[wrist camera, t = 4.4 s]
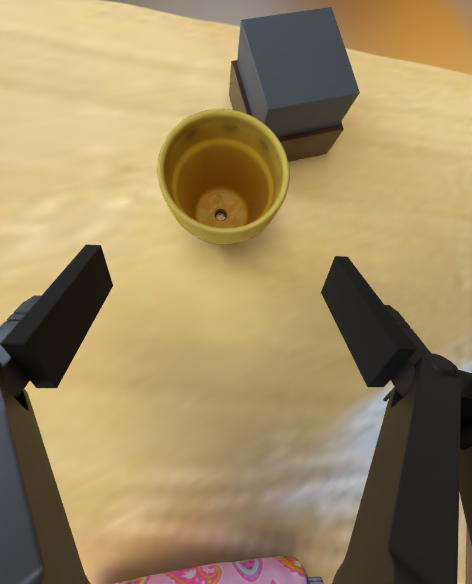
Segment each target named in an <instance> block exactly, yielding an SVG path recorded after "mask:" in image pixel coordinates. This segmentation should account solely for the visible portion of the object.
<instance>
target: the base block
mask: <svg viewBox="0 0 472 584" xmlns="http://www.w3.org/2000/svg"><path fill="white" fill-rule="evenodd" d="M229 96H230V99H231V103H232V106H233V109H234V110H236V111H240V112H243V113H246V114H248V115H251V116H252V113H251V110H250V106H249V103H248V99H247V96H246V93H245V89H244V86H243V83H242V79H241V76H240V72H239V69H238V66H237V60H236V61H231V73H230V88H229ZM342 131H343V126H342V123H341V122H340V124H339V125H338V126H334V127H329V128H324V129H319V130H314V131H309V132H304V133H299V134H294V135H289V136H284V137H279V138H278V139H279V141H280V143H281V144H282V146H283V148H284V150H285V153H286V156H287V159H288V161H292V160H297V159H302V158H306V157H311V156H316V155H320V154H325V153H327V152H328V151H329V150H330V148H331V147H332V145H333V144H334V142H335V141H336V139H337V138H338V137H339V135H340V134H341V132H342Z"/></svg>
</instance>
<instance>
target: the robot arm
mask: <svg viewBox="0 0 472 584" xmlns="http://www.w3.org/2000/svg"><path fill="white" fill-rule="evenodd" d="M112 287H113V284H112V280H111V277H110V274H109V271H108V267H107V264H106V261H105V257H104V254H103V251H102V247H101V245H85V246H84V248H83V249H82V250H81V251H80V252H79V253H78V254H77V256H76V257H75V258H74V259H73V260H72V261H71V263H70V264H69V265H68V266H67V267H66V268H65V269H64V271H63V272H62V273H61V274H60V275H59V276H58V277H57V279H56V280H55V281H54V282H53V283H52V284H51V286H50V287H49V288H48V289H47V290H46V291H45V292H44V294H43V295H42V296H33V297H31V298H30V299H28V300H27V301H25V302H23V303H22V304H21V305H20V306H19V307H18V308H17V309H16V310H15V312H14V314H12V315H11V316H10V317H9V318H8V319H7V321H5V322H4V323H3V324H2V326H1V327H0V584H90V582H89V581H88V579H87V577H86V575H85V573H84V570H83V567H82V564H81V561H80V558H79V554H78V551H77V548H76V545H75V542H74V538H73V535H72V532H71V529H70V526H69V523H68V519H67V516H66V513H65V510H64V507H63V504H62V500H61V497H60V494H59V491H58V488H57V485H56V481H55V478H54V475H53V472H52V469H51V466H50V462H49V459H48V456H47V453H46V450H45V447H44V443H43V440H42V437H41V434H40V431H39V427H38V424H37V421H36V418H35V415H34V412H33V408H32V405H31V402H30V399H29V396H28V393H27V392H26V390H25V389H24V388H25V387H26V385H27V384H28V382H29V381H31V382H32V383H33V384H34V386H35V387H36V388H57V387H58V385H59V383H60V382H61V380H62V378H63V376H64V374H65V372H66V371H67V369H68V367H69V365H70V363H71V361H72V360H73V358H74V356H75V354H76V352H77V351H78V349H79V347H80V345H81V343H82V341H83V340H84V338H85V336H86V334H87V332H88V330H89V329H90V327H91V325H92V323H93V321H94V320H95V318H96V316H97V314H98V312H99V310H100V309H101V307H102V305H103V303H104V301H105V299H106V298H107V296H108V294H109V292H110V290H111V289H112ZM321 293H322V296H323V298H324V300H325V302H326V304H327V306H328V308H329V310H330V312H331V314H332V316H333V318H334V320H335V322H336V324H337V326H338V328H339V330H340V332H341V334H342V336H343V338H344V340H345V342H346V344H347V346H348V348H349V350H350V352H351V354H352V356H353V358H354V360H355V362H356V364H357V367H358V369H359V371H360V373H361V375H362V377H363V379H364V381H365V383H366V385H367V387H384V386H385V385H386V384H387V383H388V382H389V381H390V380H391V381H392V383H393V385H394V386H395V387H394V388H393V389H392V390H391V391H390V392H389V393H388V394H387V395H386V397H385V398H384V399H383V400H384V401H385V402H386V401H387V400H388V399H389V401H388V404H387V408H386V412H385V415H384V419H383V423H382V426H381V430H380V434H379V437H378V441H377V445H376V448H375V452H374V456H373V459H372V463H371V467H370V470H369V474H368V478H367V481H366V485H365V488H364V492H363V496H362V499H361V503H360V507H359V510H358V514H357V518H356V521H355V525H354V529H353V532H352V536H351V540H350V543H349V547H348V551H347V554H346V557H345V559H344V561H343V563H342V564H341V566H340V567H339V569H338V570H337V573H336V575H335V577H334V580H333V583H332V584H457V570H458V521H459V492H460V496H461V501H462V505H463V510H464V514H465V518H466V523H467V527H468V532H469V536H470V540H471V545H472V373H468V372H465V371H461V370H458V368H457V367H456V366H455V365H454V364H453V363H452V362H451V361H449V360H448V359H446V358H444V357H443V356H440V355H437V354H432V353H431V352H430V351H429V350H428V349H427V347H426V346H425V345H424V344H423V342H422V341H421V340H420V339H419V337H418V336H417V335H416V334H415V332H414V331H413V330H412V329H410V326H409V325H408V324H407V322H405V320H404V318H403V317H402V316H401V315H400V313H399V312H397V311H396V310H395V309H394V308H392V307H391V306H390V305H384V304H383V303H382V302H381V300H380V299H379V298H378V296H377V295H376V294H375V292H374V291H373V290H372V288H371V287H370V286H369V284H368V283H367V282H366V280H365V279H364V278H363V276H362V275H361V274H360V272H359V271H358V270H357V269H356V267H355V266H354V265H353V263H352V262H351V261H350V259H349V258H348V257H340V256H335V258H334V260H333V263H332V266H331V268H330V271H329V273H328V276H327V278H326V281H325V284H324V286H323V289H322V291H321Z"/></svg>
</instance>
